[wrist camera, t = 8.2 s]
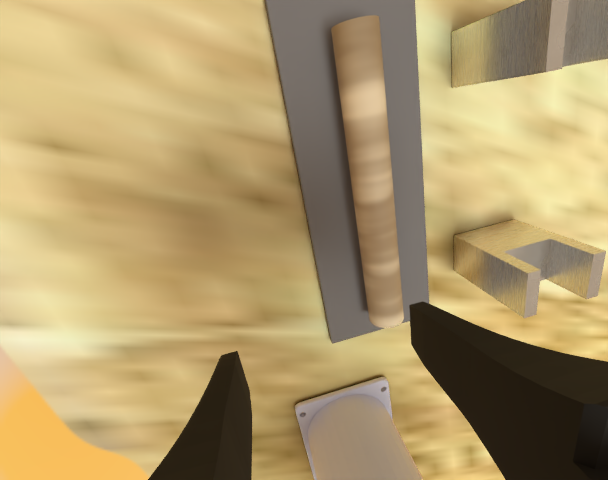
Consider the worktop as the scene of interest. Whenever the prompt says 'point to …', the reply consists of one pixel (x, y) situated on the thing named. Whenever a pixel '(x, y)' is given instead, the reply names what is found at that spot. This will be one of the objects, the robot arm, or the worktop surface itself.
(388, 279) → the rail
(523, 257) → the hook stands
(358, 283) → the mat
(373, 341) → the worktop surface
